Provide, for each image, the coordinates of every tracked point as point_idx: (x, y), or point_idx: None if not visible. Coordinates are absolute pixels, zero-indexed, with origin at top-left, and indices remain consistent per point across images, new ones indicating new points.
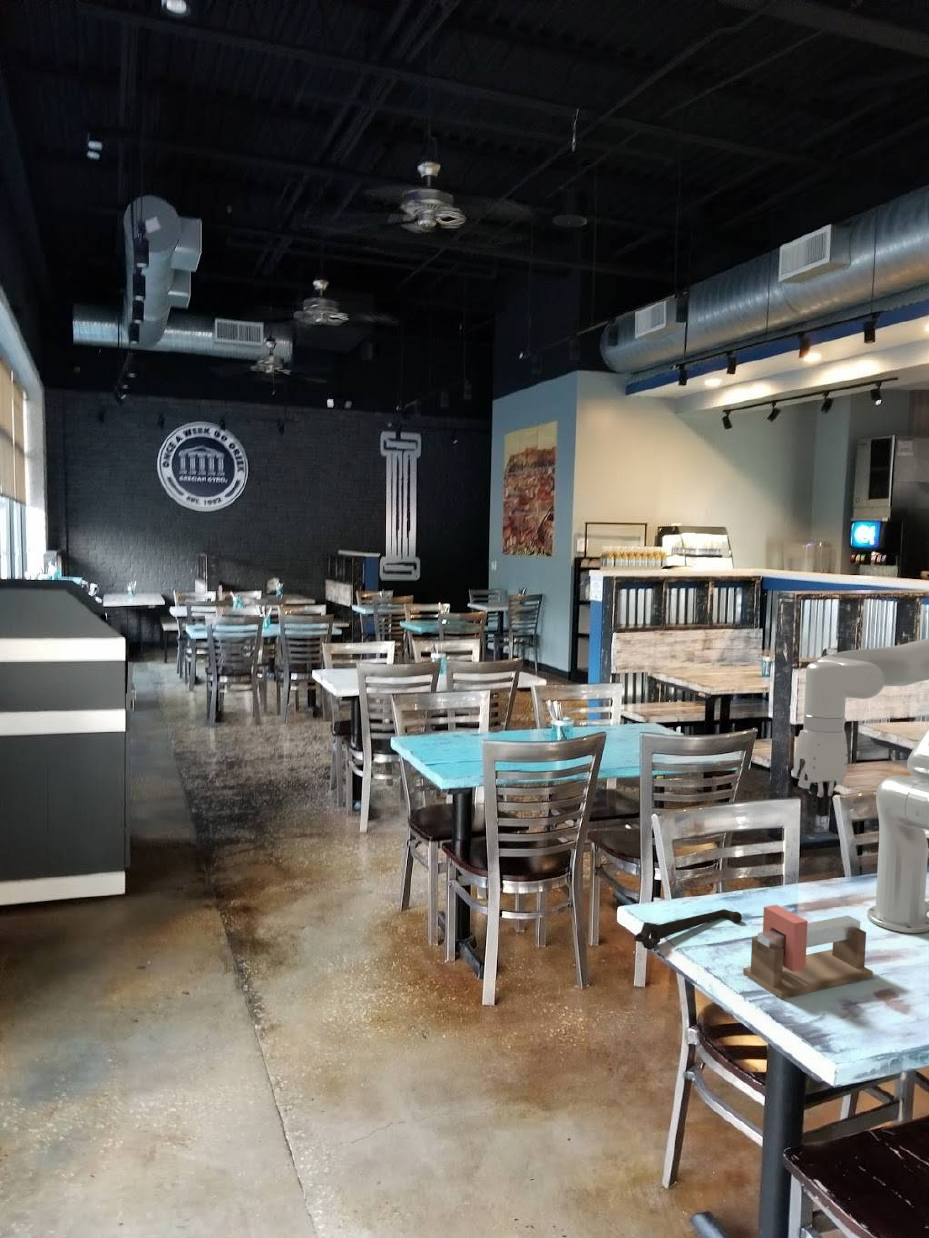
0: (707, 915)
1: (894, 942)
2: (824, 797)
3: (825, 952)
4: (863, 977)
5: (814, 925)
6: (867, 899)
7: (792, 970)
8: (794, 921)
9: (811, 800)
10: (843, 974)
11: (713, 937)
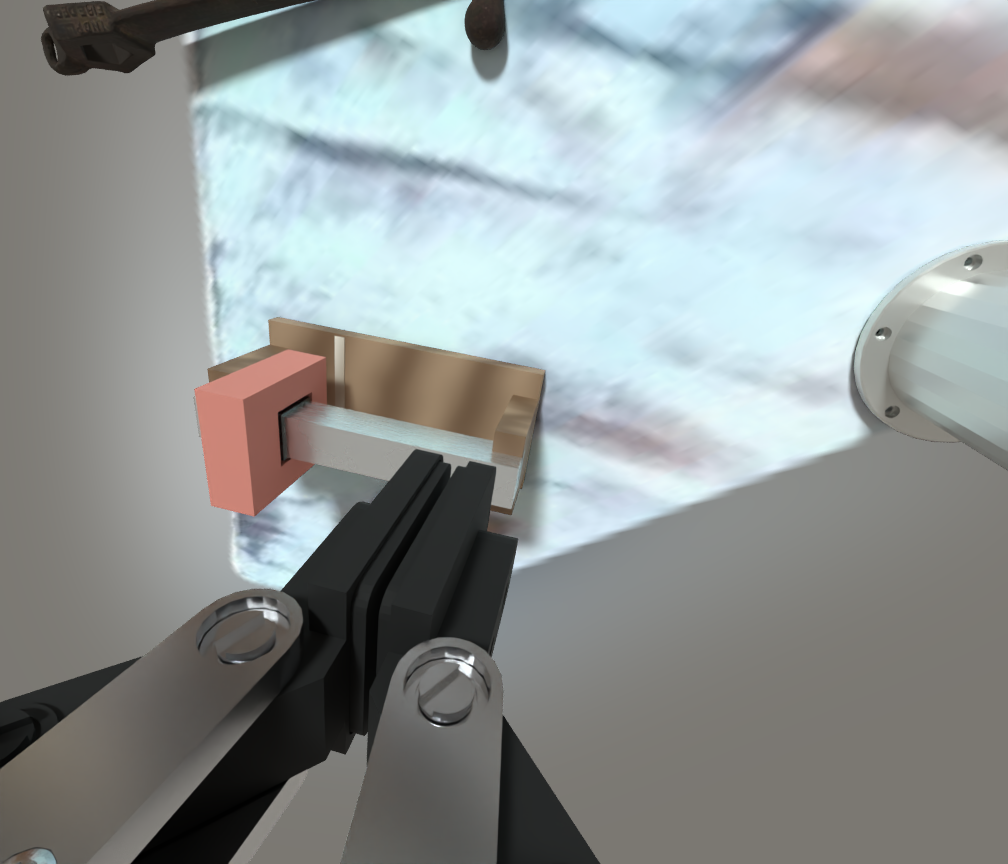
0: None
1: (768, 417)
2: (333, 746)
3: (511, 376)
4: None
5: (369, 452)
6: None
7: None
8: (219, 498)
9: (359, 521)
10: None
11: (336, 101)
